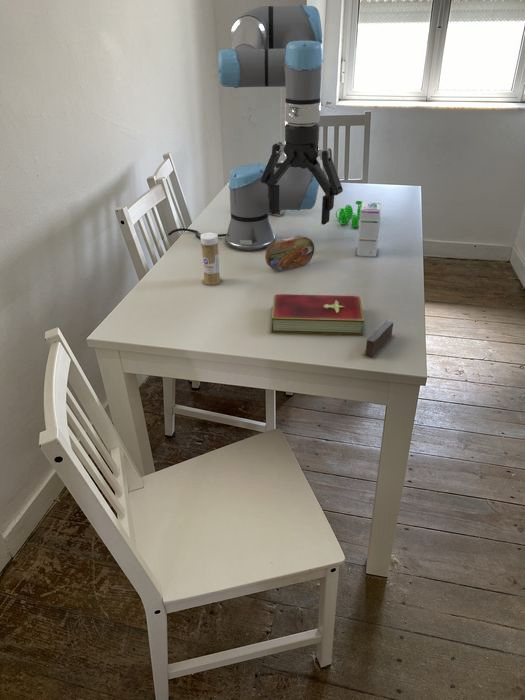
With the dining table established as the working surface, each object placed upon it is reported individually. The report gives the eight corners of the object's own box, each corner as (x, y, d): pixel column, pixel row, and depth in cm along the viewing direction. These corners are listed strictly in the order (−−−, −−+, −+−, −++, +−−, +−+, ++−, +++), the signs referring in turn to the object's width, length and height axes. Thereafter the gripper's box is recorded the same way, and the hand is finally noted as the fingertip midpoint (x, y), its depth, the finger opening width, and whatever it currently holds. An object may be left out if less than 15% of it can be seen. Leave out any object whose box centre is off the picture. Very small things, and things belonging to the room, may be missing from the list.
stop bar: (365, 355, 115) (366, 340, 112) (384, 334, 121) (387, 320, 119) (371, 357, 114) (373, 342, 112) (391, 337, 121) (393, 322, 118)
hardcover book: (274, 307, 133) (274, 292, 130) (358, 309, 131) (360, 294, 129) (271, 332, 123) (271, 317, 120) (362, 335, 121) (364, 319, 119)
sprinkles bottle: (201, 284, 144) (197, 237, 136) (208, 276, 147) (205, 230, 139) (216, 286, 142) (213, 239, 134) (223, 279, 146) (220, 233, 138)
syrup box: (376, 257, 156) (381, 209, 148) (356, 255, 157) (360, 208, 149) (376, 249, 161) (382, 202, 153) (357, 248, 162) (361, 201, 154)
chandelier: (376, 232, 172) (378, 211, 168) (330, 227, 176) (332, 207, 172) (382, 216, 184) (384, 197, 180) (339, 212, 188) (341, 193, 184)
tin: (268, 274, 148) (268, 245, 143) (263, 269, 150) (263, 241, 146) (314, 262, 154) (315, 235, 149) (308, 258, 156) (309, 231, 151)
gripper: (244, 120, 118) (247, 213, 130) (348, 132, 107) (340, 232, 119) (262, 115, 123) (263, 204, 135) (362, 125, 112) (354, 221, 124)
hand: (299, 217), depth 127 cm, fingers open, 13 cm apart
